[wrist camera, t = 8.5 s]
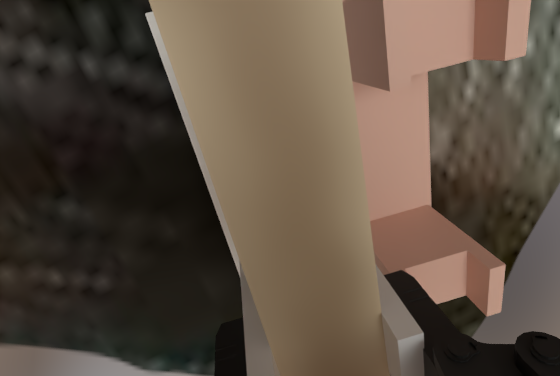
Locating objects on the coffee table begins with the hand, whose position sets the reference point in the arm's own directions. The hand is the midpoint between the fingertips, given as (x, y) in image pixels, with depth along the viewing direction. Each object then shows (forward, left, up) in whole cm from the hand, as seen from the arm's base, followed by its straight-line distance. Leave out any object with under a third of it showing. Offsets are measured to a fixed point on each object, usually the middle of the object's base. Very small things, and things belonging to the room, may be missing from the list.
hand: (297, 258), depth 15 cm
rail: (0, 0, +2) cm, 2 cm away
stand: (+9, 0, -10) cm, 14 cm away
